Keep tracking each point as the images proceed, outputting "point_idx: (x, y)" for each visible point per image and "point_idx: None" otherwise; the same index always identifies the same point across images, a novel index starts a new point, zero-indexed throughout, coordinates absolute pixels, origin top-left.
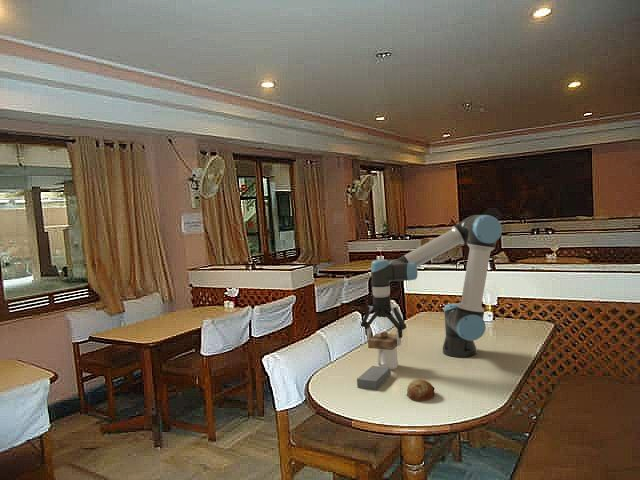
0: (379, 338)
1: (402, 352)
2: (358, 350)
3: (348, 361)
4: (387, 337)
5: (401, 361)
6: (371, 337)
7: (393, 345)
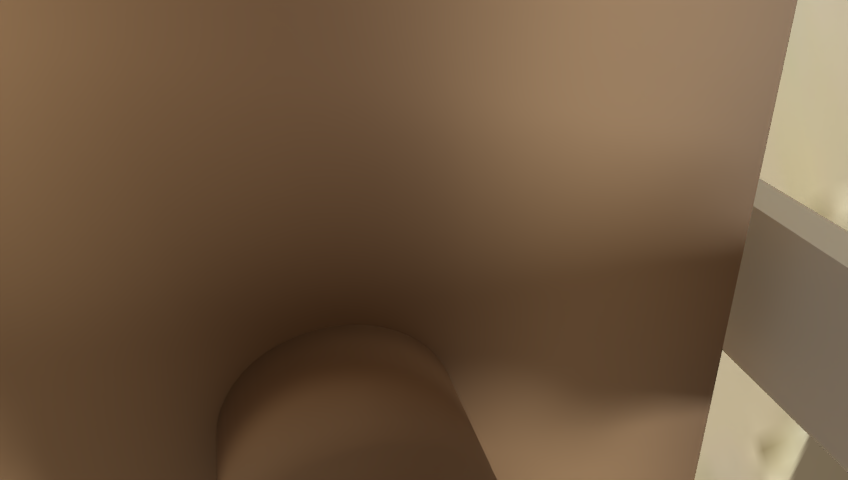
0: (450, 266)
1: None
2: (775, 461)
3: (818, 148)
4: (217, 447)
5: None
6: (736, 260)
7: None
